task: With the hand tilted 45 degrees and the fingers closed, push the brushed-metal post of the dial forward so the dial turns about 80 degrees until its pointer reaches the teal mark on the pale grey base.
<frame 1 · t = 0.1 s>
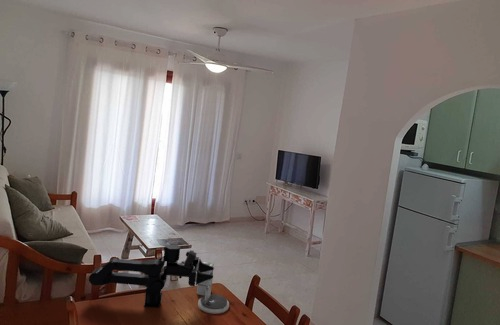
hand: (213, 272, 167), 17 cm above the table, tool horizontal, fingers open, 9 cm apart
dial: (214, 293, 170), point 6 cm above the table, hinge at -40.0°
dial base: (213, 305, 171), on the table
syrup box: (203, 293, 183), on the table
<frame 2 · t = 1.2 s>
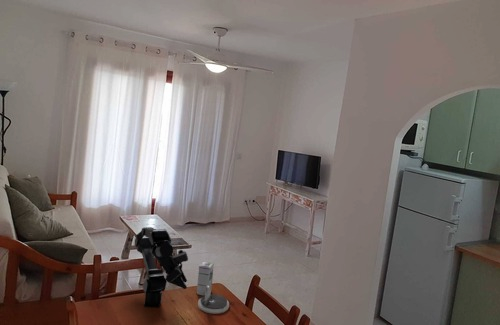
hand: (186, 284, 163), 12 cm above the table, tool tilted 45°, fingers open, 9 cm apart
nothing on the table moved.
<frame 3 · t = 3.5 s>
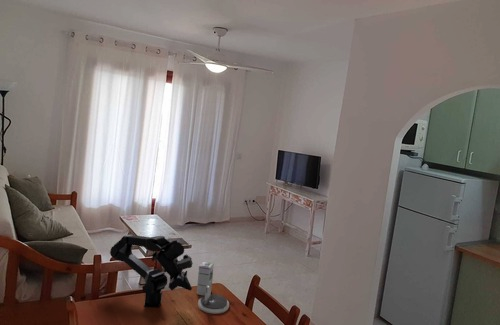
hand: (191, 289, 165), 9 cm above the table, tool tilted 45°, fingers closed
nothing on the table moved.
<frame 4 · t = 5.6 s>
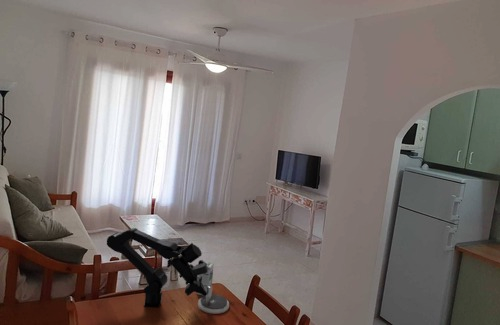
hand: (206, 294, 165), 7 cm above the table, tool tilted 45°, fingers closed, pressing on dial
dial: (214, 293, 170), point 6 cm above the table, hinge at -32.6°, touching gripper
everything else where it was.
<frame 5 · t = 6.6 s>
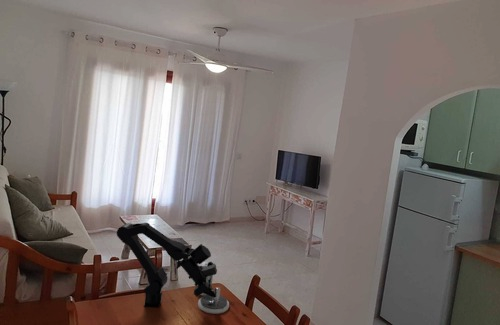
hand: (215, 297, 164), 7 cm above the table, tool tilted 45°, fingers closed, pressing on dial
dial: (214, 293, 170), point 6 cm above the table, hinge at 10.8°, touching gripper
everything else where it was.
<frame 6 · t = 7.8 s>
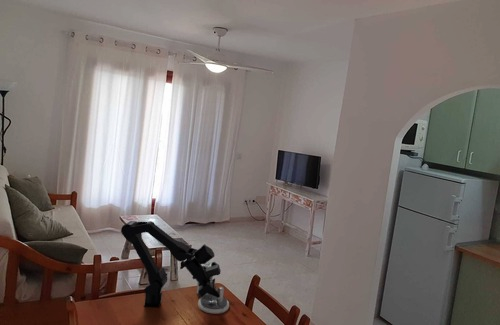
hand: (219, 297, 165), 7 cm above the table, tool tilted 45°, fingers closed
dial: (214, 293, 170), point 6 cm above the table, hinge at 30.0°, touching gripper
everything else where it was.
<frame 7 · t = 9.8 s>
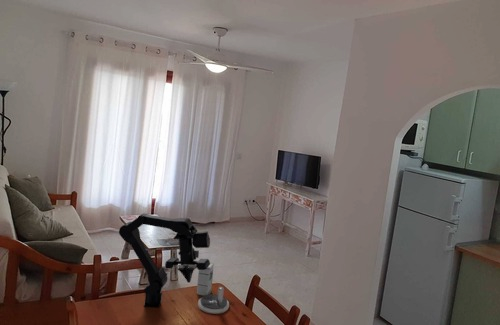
hand: (189, 282, 165), 12 cm above the table, tool pointing down, fingers closed
dial: (214, 293, 170), point 6 cm above the table, hinge at 29.9°
everything else where it was.
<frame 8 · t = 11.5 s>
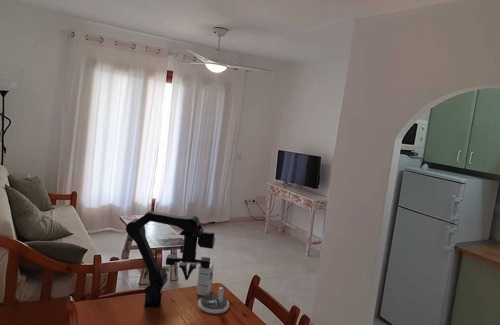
hand: (186, 279, 165), 13 cm above the table, tool pointing down, fingers closed
nothing on the table moved.
at the end: dial at +30° (first picture: -40°); syrup box moved 0.2 cm from its start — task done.
